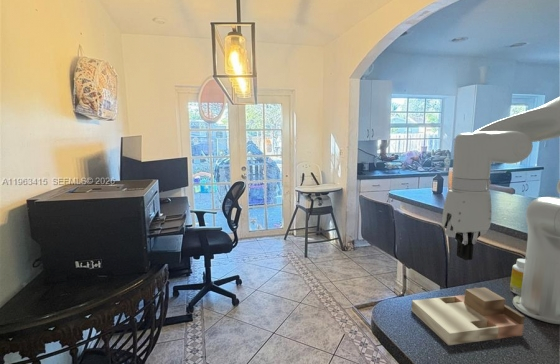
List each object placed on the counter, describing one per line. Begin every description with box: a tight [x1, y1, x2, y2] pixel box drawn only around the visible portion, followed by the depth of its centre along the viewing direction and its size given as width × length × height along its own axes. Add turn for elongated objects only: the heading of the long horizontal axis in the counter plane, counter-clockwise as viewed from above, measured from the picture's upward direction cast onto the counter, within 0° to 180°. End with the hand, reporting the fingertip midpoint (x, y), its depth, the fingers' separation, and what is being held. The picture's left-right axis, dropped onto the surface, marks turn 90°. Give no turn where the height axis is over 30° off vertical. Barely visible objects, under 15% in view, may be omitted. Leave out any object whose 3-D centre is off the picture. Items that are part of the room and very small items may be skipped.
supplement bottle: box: [509, 258, 525, 296], centre depth 90 cm, size 6×6×10 cm
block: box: [464, 287, 506, 316], centre depth 77 cm, size 6×6×4 cm
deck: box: [411, 286, 525, 346], centre depth 76 cm, size 20×14×5 cm
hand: (464, 257), depth 73 cm, fingers closed
